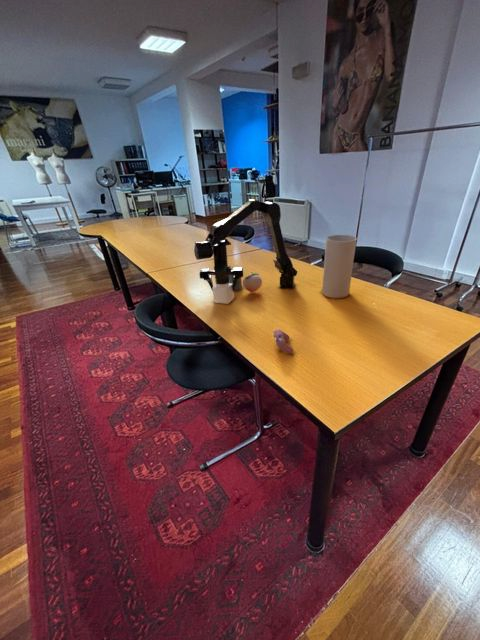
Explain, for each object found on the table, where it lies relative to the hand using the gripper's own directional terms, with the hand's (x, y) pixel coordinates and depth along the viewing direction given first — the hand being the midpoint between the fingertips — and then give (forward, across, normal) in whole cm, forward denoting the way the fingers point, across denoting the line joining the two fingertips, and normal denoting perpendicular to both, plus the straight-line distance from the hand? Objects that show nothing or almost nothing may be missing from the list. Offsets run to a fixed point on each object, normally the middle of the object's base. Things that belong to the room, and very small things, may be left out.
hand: (223, 291), depth 133 cm
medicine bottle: (+5, 0, 0) cm, 5 cm away
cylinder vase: (+4, +52, +1) cm, 52 cm away
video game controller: (+4, +22, -43) cm, 48 cm away
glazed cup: (+4, +5, +14) cm, 16 cm away
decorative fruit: (+4, +14, +8) cm, 16 cm away
